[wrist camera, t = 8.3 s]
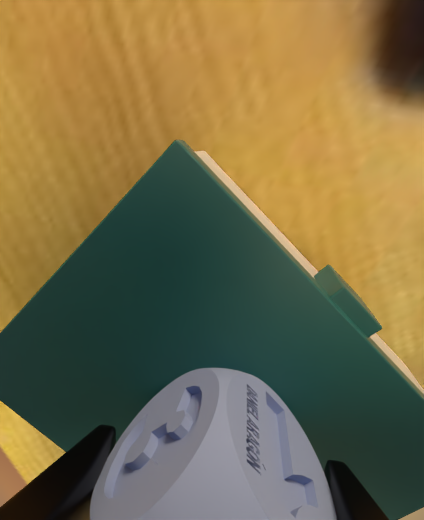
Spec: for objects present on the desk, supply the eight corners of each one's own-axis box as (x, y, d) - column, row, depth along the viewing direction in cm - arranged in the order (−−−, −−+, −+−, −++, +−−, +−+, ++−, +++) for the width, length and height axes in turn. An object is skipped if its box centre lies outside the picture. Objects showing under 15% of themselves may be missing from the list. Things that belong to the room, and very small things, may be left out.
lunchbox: (422, 358, 14) (510, 466, 9) (239, 473, 17) (237, 599, 12) (212, 131, 12) (190, 122, 7) (47, 307, 15) (-44, 380, 10)
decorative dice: (319, 436, 10) (366, 624, 6) (214, 495, 11) (196, 683, 7) (227, 339, 9) (214, 482, 5) (125, 412, 10) (52, 573, 6)
